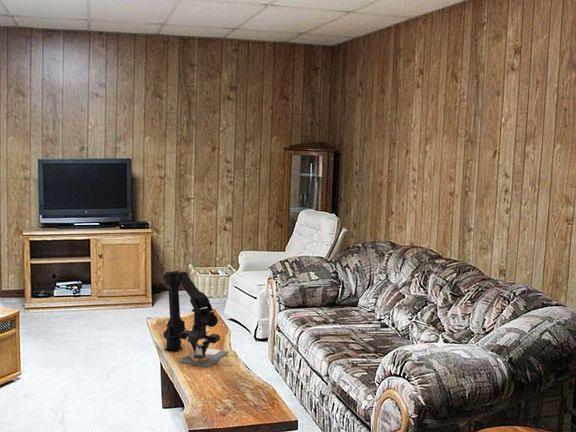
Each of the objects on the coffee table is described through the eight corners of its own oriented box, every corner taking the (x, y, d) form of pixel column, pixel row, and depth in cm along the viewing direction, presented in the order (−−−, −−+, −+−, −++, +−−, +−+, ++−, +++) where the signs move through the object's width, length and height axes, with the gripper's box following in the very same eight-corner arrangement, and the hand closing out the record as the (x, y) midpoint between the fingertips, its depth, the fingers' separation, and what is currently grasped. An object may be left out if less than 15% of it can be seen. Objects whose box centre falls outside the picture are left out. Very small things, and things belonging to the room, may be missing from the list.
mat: (199, 353, 334) (199, 352, 334) (206, 348, 341) (206, 348, 341) (214, 355, 331) (214, 355, 331) (220, 350, 339) (221, 350, 339)
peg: (193, 360, 324) (194, 345, 323) (197, 357, 328) (197, 343, 327) (201, 361, 323) (201, 346, 322) (205, 358, 327) (205, 344, 326)
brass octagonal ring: (187, 360, 323) (187, 357, 323) (195, 355, 331) (195, 352, 330) (203, 363, 320) (203, 360, 320) (211, 357, 328) (211, 354, 328)
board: (179, 363, 322) (179, 361, 322) (200, 349, 343) (200, 347, 343) (208, 367, 317) (208, 365, 317) (227, 353, 338) (227, 351, 338)
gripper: (174, 324, 319) (174, 356, 320) (210, 329, 313) (210, 362, 314) (185, 318, 329) (185, 349, 331) (220, 322, 323) (220, 354, 325)
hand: (199, 354), depth 325 cm, fingers closed on peg, 4 cm apart
